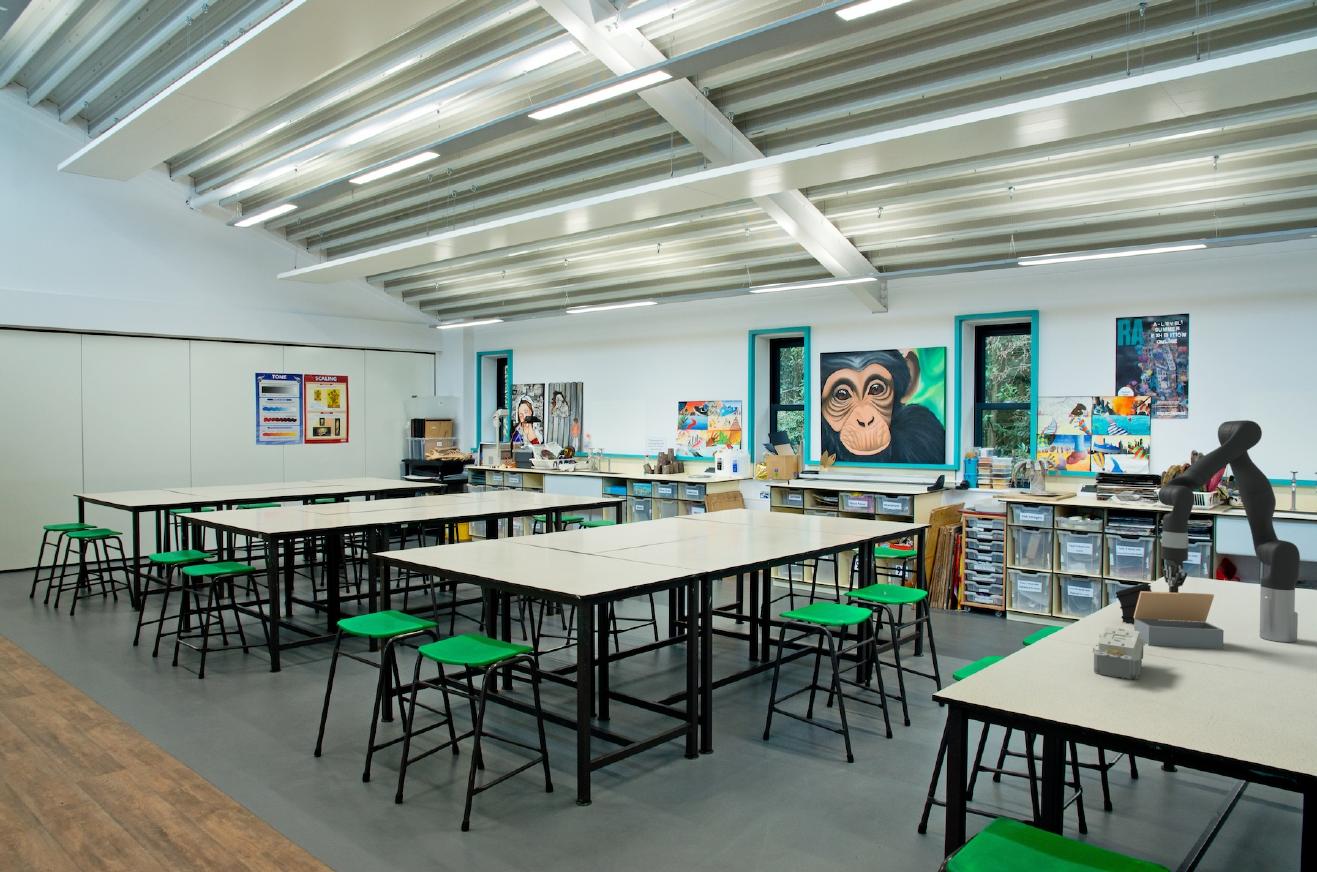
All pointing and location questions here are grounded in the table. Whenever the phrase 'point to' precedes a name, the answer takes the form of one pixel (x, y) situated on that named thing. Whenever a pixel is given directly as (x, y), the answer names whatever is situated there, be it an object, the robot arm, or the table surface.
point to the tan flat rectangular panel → (1173, 606)
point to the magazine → (1130, 601)
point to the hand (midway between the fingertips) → (1173, 597)
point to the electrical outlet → (1119, 653)
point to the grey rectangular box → (1179, 633)
